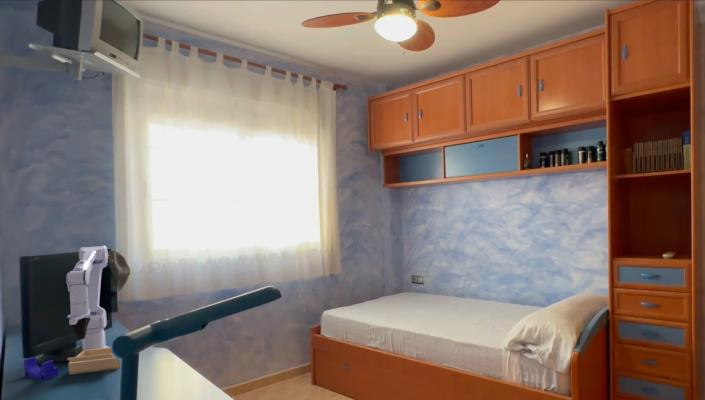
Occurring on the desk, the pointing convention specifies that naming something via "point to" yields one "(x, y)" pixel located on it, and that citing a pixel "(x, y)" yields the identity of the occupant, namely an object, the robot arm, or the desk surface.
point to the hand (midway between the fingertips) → (81, 338)
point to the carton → (94, 362)
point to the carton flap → (91, 357)
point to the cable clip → (43, 373)
